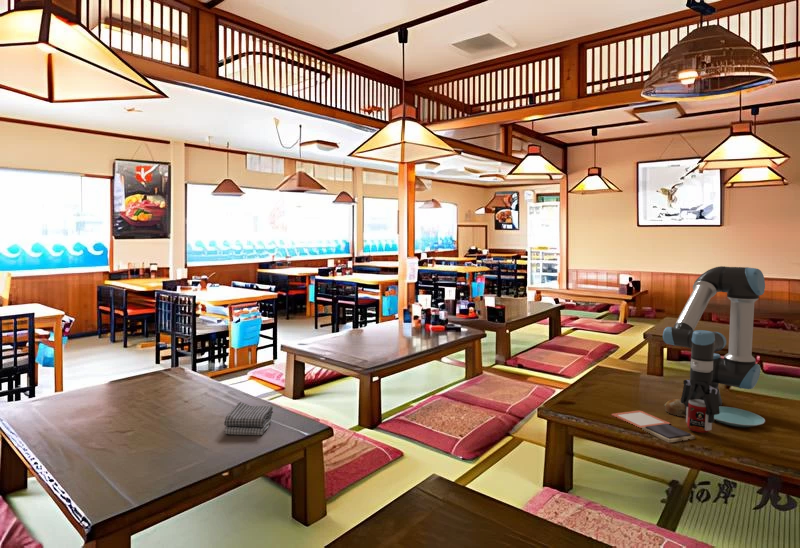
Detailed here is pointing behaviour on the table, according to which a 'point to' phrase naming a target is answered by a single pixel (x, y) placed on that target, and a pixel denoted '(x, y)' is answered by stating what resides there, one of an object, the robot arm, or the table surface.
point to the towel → (248, 420)
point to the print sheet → (639, 418)
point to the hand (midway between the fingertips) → (698, 426)
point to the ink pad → (668, 433)
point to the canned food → (696, 415)
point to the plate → (738, 417)
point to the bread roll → (675, 407)
